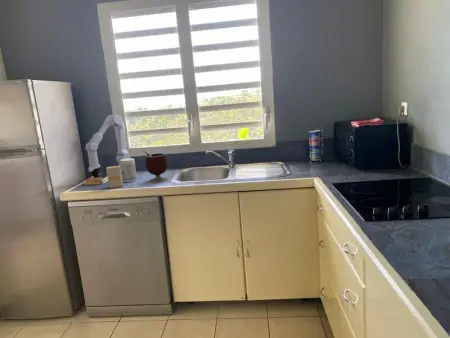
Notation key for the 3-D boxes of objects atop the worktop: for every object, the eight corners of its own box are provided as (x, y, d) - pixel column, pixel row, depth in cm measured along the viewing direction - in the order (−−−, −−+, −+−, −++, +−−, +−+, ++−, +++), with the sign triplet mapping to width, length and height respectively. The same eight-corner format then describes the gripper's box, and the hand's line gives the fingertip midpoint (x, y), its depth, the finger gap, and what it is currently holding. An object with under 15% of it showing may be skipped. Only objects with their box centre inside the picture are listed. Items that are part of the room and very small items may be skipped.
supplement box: (123, 185, 229) (120, 165, 226) (122, 187, 224) (119, 166, 222) (110, 186, 228) (107, 166, 225) (108, 188, 223) (105, 168, 221)
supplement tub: (119, 181, 241) (116, 160, 238) (132, 178, 247) (129, 157, 244) (127, 183, 234) (124, 161, 231) (139, 180, 241) (137, 158, 238)
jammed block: (89, 183, 242) (88, 178, 241) (102, 182, 241) (101, 177, 240) (86, 184, 237) (85, 179, 236) (99, 184, 236) (98, 179, 235)
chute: (94, 179, 254) (94, 175, 254) (112, 177, 253) (111, 174, 253) (84, 184, 239) (84, 181, 238) (103, 183, 238) (103, 179, 237)
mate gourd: (172, 177, 239) (169, 148, 235) (163, 183, 227) (159, 152, 222) (152, 177, 244) (148, 149, 240) (141, 183, 231) (137, 152, 227)
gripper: (92, 158, 247) (95, 177, 249) (82, 162, 232) (86, 182, 235) (102, 158, 246) (104, 177, 249) (93, 161, 232) (96, 182, 235)
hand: (96, 179), depth 242 cm, fingers closed
